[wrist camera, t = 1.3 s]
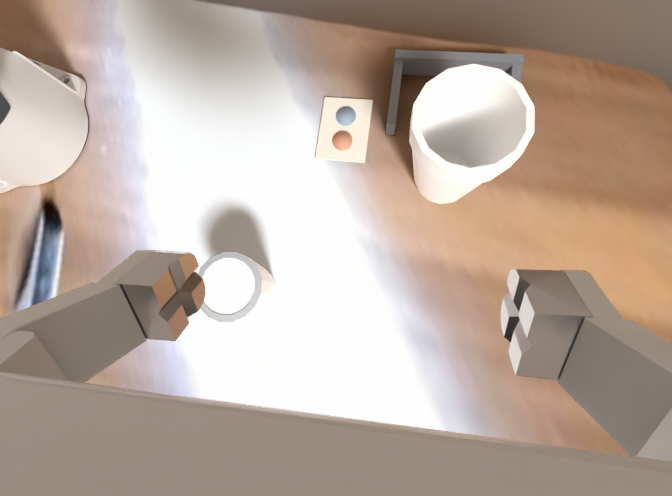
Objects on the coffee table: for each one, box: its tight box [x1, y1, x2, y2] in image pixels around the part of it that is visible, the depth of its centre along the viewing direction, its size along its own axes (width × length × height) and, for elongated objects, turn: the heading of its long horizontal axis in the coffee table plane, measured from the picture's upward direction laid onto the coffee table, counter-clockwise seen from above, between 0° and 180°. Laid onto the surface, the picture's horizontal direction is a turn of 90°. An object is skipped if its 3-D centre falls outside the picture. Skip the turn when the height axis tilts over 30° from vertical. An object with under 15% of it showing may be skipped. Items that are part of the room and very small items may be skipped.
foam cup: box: [409, 64, 534, 204], centre depth 34 cm, size 10×9×13 cm
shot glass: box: [198, 252, 276, 322], centre depth 38 cm, size 7×7×7 cm
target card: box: [315, 97, 373, 163], centre depth 43 cm, size 8×6×1 cm
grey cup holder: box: [386, 49, 524, 135], centre depth 40 cm, size 9×14×3 cm, turn 82°
